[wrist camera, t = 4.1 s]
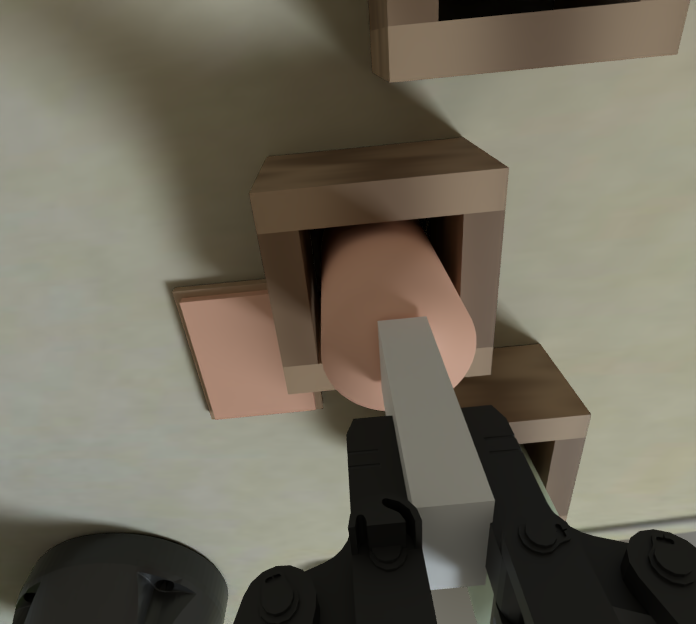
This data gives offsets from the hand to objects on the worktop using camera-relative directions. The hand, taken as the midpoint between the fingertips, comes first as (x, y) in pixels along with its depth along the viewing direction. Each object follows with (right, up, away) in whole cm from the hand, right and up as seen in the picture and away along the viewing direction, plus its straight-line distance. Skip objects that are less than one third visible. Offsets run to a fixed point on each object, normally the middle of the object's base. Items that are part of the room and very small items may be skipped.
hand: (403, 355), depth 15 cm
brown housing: (-1, +5, +9) cm, 10 cm away
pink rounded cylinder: (-1, +5, +8) cm, 9 cm away
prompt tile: (-7, -1, +12) cm, 14 cm away
